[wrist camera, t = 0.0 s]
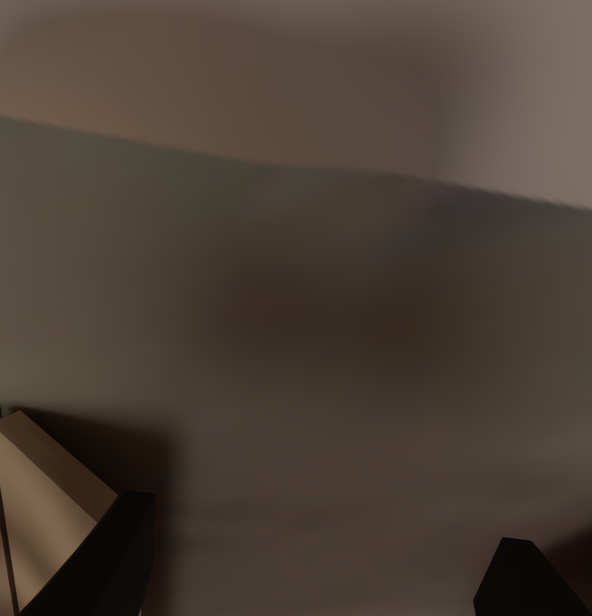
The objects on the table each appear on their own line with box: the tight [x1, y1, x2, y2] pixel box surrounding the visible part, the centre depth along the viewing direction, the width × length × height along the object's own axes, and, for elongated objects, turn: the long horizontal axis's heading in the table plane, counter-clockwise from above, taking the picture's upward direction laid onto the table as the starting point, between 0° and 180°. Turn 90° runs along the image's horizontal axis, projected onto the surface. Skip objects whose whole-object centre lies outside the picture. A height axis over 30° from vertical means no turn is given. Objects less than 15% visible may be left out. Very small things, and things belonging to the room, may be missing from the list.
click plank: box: [0, 410, 141, 616], centre depth 22 cm, size 14×8×1 cm
